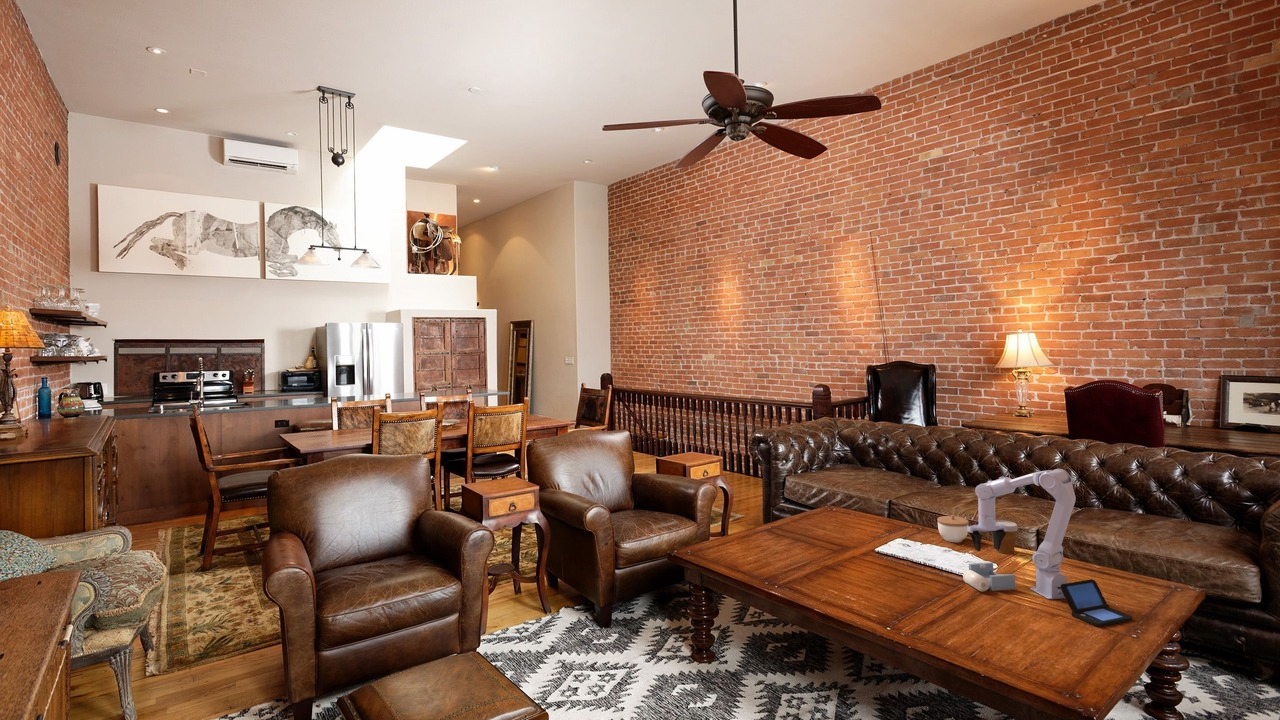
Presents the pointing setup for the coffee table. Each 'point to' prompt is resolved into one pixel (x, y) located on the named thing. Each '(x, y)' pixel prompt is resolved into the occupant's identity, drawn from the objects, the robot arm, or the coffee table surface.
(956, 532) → the lidded bowl
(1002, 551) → the disposable coffee cup
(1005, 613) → the coffee table surface
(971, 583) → the roll
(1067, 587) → the game console
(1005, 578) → the holder
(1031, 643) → the coffee table surface
